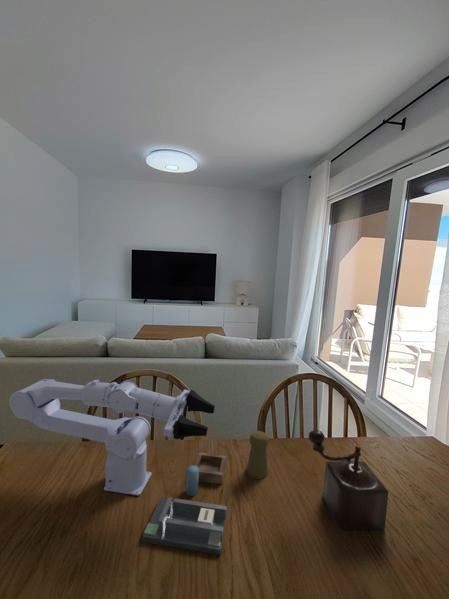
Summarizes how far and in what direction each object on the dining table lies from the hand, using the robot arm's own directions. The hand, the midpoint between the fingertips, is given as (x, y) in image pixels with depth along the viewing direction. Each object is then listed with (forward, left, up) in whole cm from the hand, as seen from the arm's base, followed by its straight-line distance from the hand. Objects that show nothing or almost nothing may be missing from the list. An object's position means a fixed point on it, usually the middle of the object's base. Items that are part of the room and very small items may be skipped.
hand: (210, 420), depth 71 cm
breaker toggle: (+2, -10, -18) cm, 20 cm away
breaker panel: (-2, -10, -19) cm, 22 cm away
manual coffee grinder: (+32, +1, -20) cm, 38 cm away
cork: (+12, +11, -20) cm, 25 cm away
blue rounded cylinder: (-4, 0, -19) cm, 20 cm away
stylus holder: (-1, +8, -19) cm, 21 cm away
